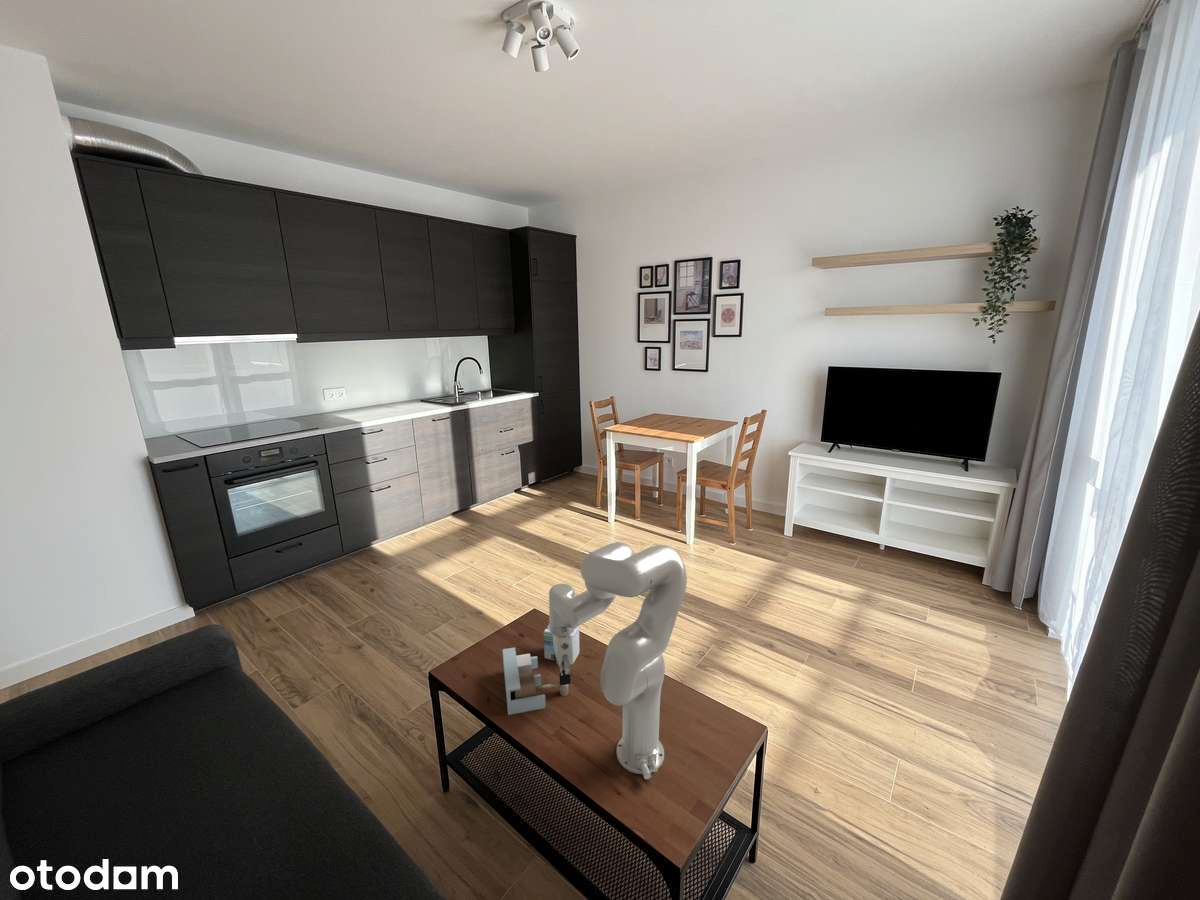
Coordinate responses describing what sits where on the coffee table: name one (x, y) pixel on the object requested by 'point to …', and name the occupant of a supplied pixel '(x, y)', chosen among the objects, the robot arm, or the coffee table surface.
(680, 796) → the coffee table surface
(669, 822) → the coffee table surface
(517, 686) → the lane cubby
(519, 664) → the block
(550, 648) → the light bulb box
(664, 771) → the coffee table surface
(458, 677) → the coffee table surface
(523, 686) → the tethered block
